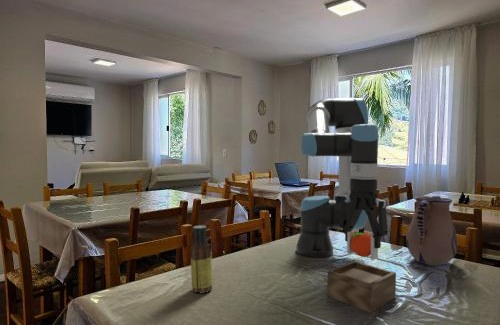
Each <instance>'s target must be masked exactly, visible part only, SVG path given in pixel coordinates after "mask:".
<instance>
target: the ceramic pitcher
mask: <svg viewBox="0 0 500 325" xmlns="http://www.w3.org/2000/svg"><path fill="white" fill-rule="evenodd" d="M413 198H414V200H415V202H416V208H415V211H414V214H413V216H412V219H411V221H410V224H409V225H408V226H409V227H408V230H407V233H406V237H405V242H406V247H407V249H408V252H409V254H410V255H411V256H412V258H414V259H415V261H416V262H418V263H419V264H424V265H425V266H426V265H427V266H443V265H445V264H448V263H450V262H451V261H452V260H453V259H454V258H455V257H456V254H457V252H458V247H459V246H458V237H457V232H456V228H455V225H454V221H453V219H452V214H451V211H450V205H451V204H452V202H453V200H452V199H451V198H447V197H442V196H435V195H433V196H427V195H415V196H413Z"/></svg>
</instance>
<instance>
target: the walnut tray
mask: <svg viewBox="0 0 500 325" xmlns="http://www.w3.org/2000/svg"><path fill="white" fill-rule="evenodd" d="M396 281H397V272H396V271H395V272H394V271H391V270H388V269H385V268H382V267H381V268H380V267H377V266H374V265H370V264H367V263H363V262H360V261H357V260H352V261H349V262H346V263H345V264H341V265H339V266H337V267H334V268H332V269H330V270H327V290H326V291H327V292H326V293H327V295H326V296H327V297H330V298H333V299H334V300H337V301H339V302H342V303H344V304H348V305H350V306H353V307H355V308H357V309H360V310H363V311H365V312H367V313H370V314H371V313H373V312H375V311H376V310H377V309H380V308H381V307H383V306H384V305H386V304H388V303H389V302H390V301H392V300H394V299H395V298H396V288H397V287H396V285H397V283H396Z"/></svg>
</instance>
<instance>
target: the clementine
mask: <svg viewBox="0 0 500 325" xmlns="http://www.w3.org/2000/svg"><path fill="white" fill-rule="evenodd" d="M372 236H373V235H371V234H370V233H368V232H356V233H355V234H354V235H353V236H352V237H353V238H352V237H351V238H352V241H351V247H352V249H353V251H354V252H353V253H355V254H356V255H357V256H360V257H369V256H371V237H372ZM351 238H350V239H351ZM349 241H350V240H349Z"/></svg>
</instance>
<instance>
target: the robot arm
mask: <svg viewBox="0 0 500 325" xmlns="http://www.w3.org/2000/svg"><path fill="white" fill-rule="evenodd" d="M367 105H368V104H367V103H366V100H365V99H364V98H359V97H358V98H357V97H343V98H341V97H338V98H324V99H321V100H319V101H317V102H314V103H313V104H312V105H310V107H309V108H308V109H307V111H306V115H305V120H306V123H307V132H304V133H302V134H301V139H300V140H301V142H300V143H301V144H300V145H301V154H302V156H304V157H305V156H306V157H338V192H336V193H335V195H334V199H331V197H330V196H329V195H312V196H307V197H304V198H303V199H302V200H301V204H300V205H301V206H300V235H299V238H298V240H297V243H296V249H295V250H296V253H297V254H299V255H301V256H304V257H311V258H325V257H330V256H333V253H334V247H333V245H332V241H331V237H330V229H343V230H344V232H345V234H344V239H345V242H346V253H347V254H348V255H349V254H350V255H351V254H353V253H355V252H354V251H353V249H352V247H351V241H352V238H353V237H352V236H353V235H354V234H356V233H355V230H362V229H363V228H365V226H366V224H367V221H369V224H370V228H371V232H372V234H373V235H371V236H372V237H371V255H369V256H370V261H374V260H377V259H378V257H379V249H380V248H381V247H382V237H385V236H387V235H388V234H389V230H388V216H387V205H388V201H387V200H386V199H385V200H383V199H380V198H379V197H378V195H377V193H378V180H377V178H378V157H379V156H378V155H379V154H378V153H379V152H378V149H379V138H380V136H379V127H378V126H377V125H376V124H369V110H368V107H367ZM330 127H334V128H335V129H334V131H335V132H330ZM375 205H376V207H377V214H376V207H375ZM351 237H352V238H351ZM350 238H351V239H350ZM349 240H350V241H349Z"/></svg>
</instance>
